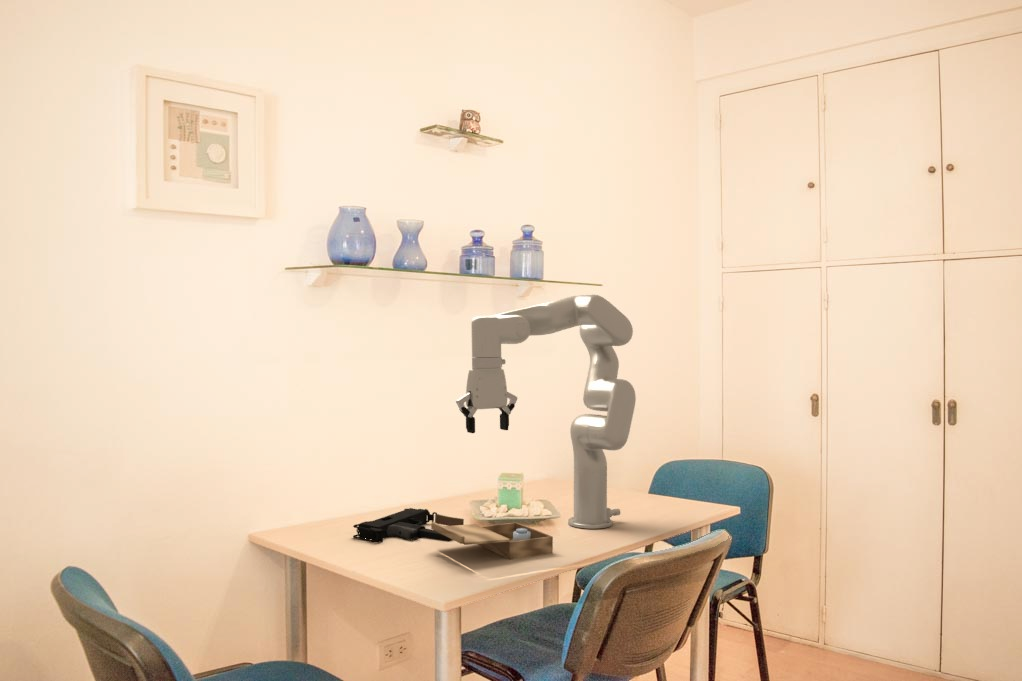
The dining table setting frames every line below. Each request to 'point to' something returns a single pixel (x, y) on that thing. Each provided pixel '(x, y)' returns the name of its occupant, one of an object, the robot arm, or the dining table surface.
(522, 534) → the blue jar
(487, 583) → the dining table surface
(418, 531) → the submachine gun
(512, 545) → the box
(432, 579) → the dining table surface
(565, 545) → the dining table surface
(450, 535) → the lid
